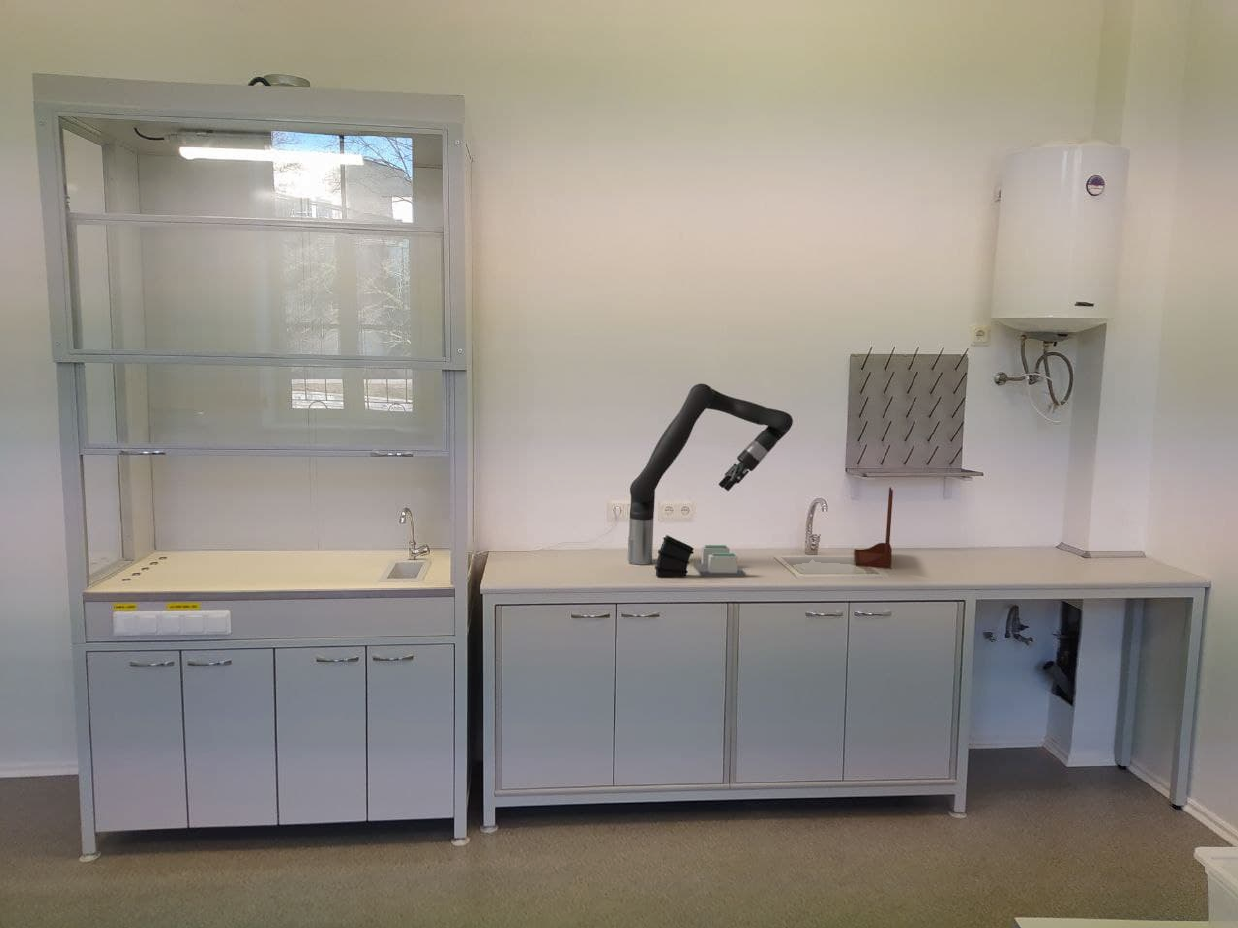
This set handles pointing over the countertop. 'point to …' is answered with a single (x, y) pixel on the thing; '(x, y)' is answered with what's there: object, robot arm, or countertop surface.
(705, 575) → the mounting plate
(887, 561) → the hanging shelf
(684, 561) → the magazine
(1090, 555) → the countertop surface
